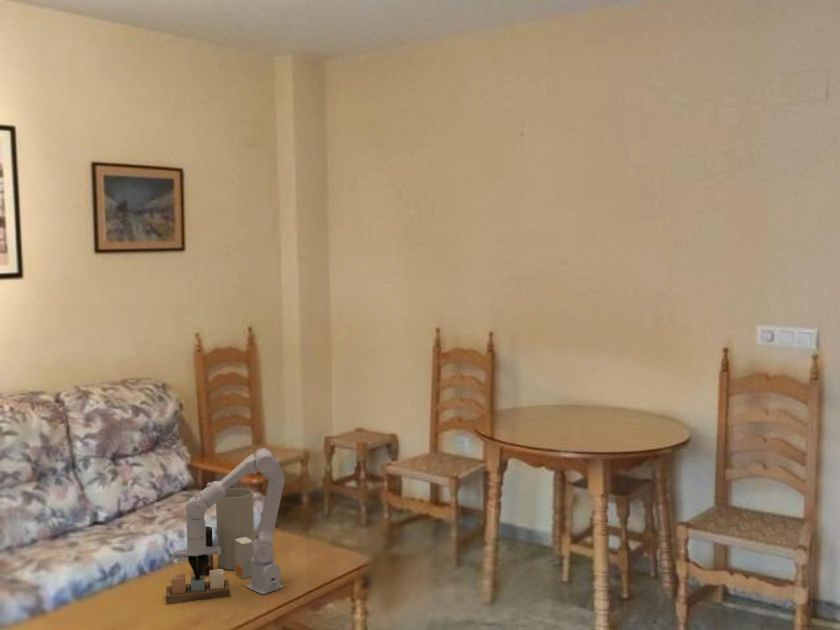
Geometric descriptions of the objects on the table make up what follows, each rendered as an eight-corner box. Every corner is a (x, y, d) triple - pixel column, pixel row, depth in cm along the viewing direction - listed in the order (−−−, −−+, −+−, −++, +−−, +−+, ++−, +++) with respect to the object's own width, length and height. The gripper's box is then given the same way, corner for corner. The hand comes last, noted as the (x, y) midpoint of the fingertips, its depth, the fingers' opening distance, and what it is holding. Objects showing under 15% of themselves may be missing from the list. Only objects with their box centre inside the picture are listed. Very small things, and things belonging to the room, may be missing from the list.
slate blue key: (205, 594, 257) (204, 580, 257) (191, 596, 256) (190, 581, 256) (204, 589, 261) (204, 575, 261) (191, 591, 260) (190, 576, 260)
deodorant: (208, 576, 274) (207, 532, 273) (191, 575, 275) (190, 531, 274) (216, 570, 280) (215, 526, 279) (200, 569, 281) (198, 525, 280)
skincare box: (235, 574, 276) (234, 539, 275) (246, 571, 279) (245, 536, 278) (242, 579, 271) (242, 543, 270) (254, 576, 274) (254, 541, 273)
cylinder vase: (262, 561, 287) (260, 491, 286) (236, 573, 277) (234, 500, 275) (236, 555, 294) (234, 486, 292) (209, 566, 283) (207, 494, 282)
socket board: (229, 596, 257) (229, 589, 257) (166, 604, 252) (166, 597, 252) (228, 586, 266) (228, 579, 266) (166, 593, 260) (166, 586, 260)
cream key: (224, 587, 259) (223, 573, 258) (210, 589, 258) (209, 575, 257) (223, 583, 263) (222, 568, 262) (209, 584, 262) (209, 570, 261)
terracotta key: (185, 592, 256) (185, 577, 255) (171, 594, 254) (171, 579, 254) (185, 587, 260) (185, 573, 259) (171, 589, 258) (171, 574, 258)
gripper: (219, 529, 263) (220, 571, 264) (172, 534, 259) (173, 576, 260) (220, 536, 257) (221, 579, 257) (172, 541, 253) (173, 585, 253)
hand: (197, 578), depth 258 cm, fingers closed, pressing on slate blue key
